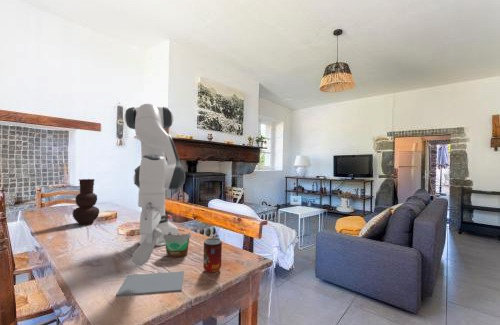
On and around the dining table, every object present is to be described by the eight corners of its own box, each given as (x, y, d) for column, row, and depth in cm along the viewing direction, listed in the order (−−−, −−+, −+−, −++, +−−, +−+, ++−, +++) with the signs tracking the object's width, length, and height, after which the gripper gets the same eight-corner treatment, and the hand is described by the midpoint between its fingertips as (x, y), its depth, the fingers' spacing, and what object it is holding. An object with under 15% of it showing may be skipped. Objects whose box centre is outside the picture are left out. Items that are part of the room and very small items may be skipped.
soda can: (199, 270, 97) (200, 239, 98) (214, 265, 102) (215, 236, 102) (209, 276, 92) (210, 243, 92) (224, 271, 97) (225, 240, 97)
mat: (115, 296, 77) (115, 294, 77) (127, 276, 91) (127, 275, 91) (181, 290, 81) (181, 289, 81) (183, 272, 95) (183, 271, 95)
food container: (162, 260, 107) (162, 237, 107) (163, 254, 113) (163, 233, 113) (191, 257, 110) (191, 235, 110) (190, 252, 116) (191, 231, 116)
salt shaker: (141, 258, 89) (160, 227, 90) (147, 268, 85) (168, 234, 87) (127, 256, 85) (147, 223, 86) (133, 266, 81) (154, 231, 82)
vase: (103, 223, 168) (104, 179, 168) (78, 227, 155) (79, 180, 155) (92, 220, 176) (93, 178, 176) (67, 224, 163) (68, 179, 163)
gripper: (156, 205, 76) (155, 250, 76) (165, 197, 97) (164, 232, 96) (134, 205, 75) (133, 251, 75) (148, 197, 95) (147, 232, 95)
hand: (150, 240), depth 86 cm, fingers closed on salt shaker, 3 cm apart
